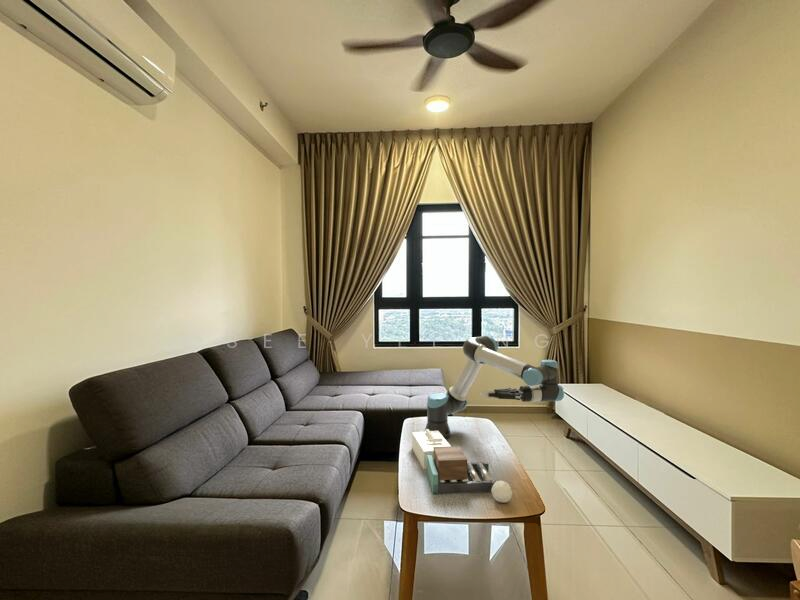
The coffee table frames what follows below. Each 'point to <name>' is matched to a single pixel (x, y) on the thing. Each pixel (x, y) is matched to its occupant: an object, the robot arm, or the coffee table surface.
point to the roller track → (467, 485)
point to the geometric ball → (501, 491)
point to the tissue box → (427, 444)
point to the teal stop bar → (432, 473)
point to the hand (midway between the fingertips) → (481, 394)
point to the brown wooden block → (450, 463)
